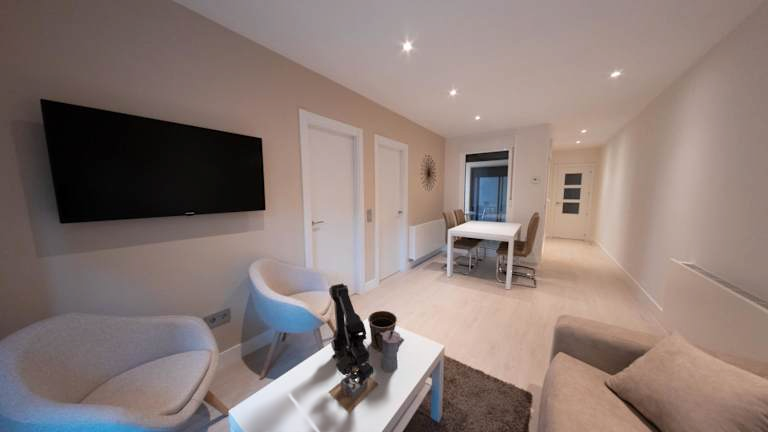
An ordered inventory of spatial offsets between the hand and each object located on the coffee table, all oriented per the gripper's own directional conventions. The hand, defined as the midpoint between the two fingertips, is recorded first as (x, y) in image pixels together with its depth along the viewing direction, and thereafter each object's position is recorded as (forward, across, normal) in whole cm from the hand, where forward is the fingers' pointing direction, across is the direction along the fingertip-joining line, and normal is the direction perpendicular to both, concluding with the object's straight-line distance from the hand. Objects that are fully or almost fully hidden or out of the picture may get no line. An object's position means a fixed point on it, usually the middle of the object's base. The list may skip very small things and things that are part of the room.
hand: (354, 378), depth 103 cm
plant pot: (+6, -10, +30) cm, 32 cm away
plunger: (+4, 0, 0) cm, 4 cm away
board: (+6, 0, 0) cm, 6 cm away
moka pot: (+6, +3, +20) cm, 21 cm away
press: (+5, 0, 0) cm, 5 cm away
